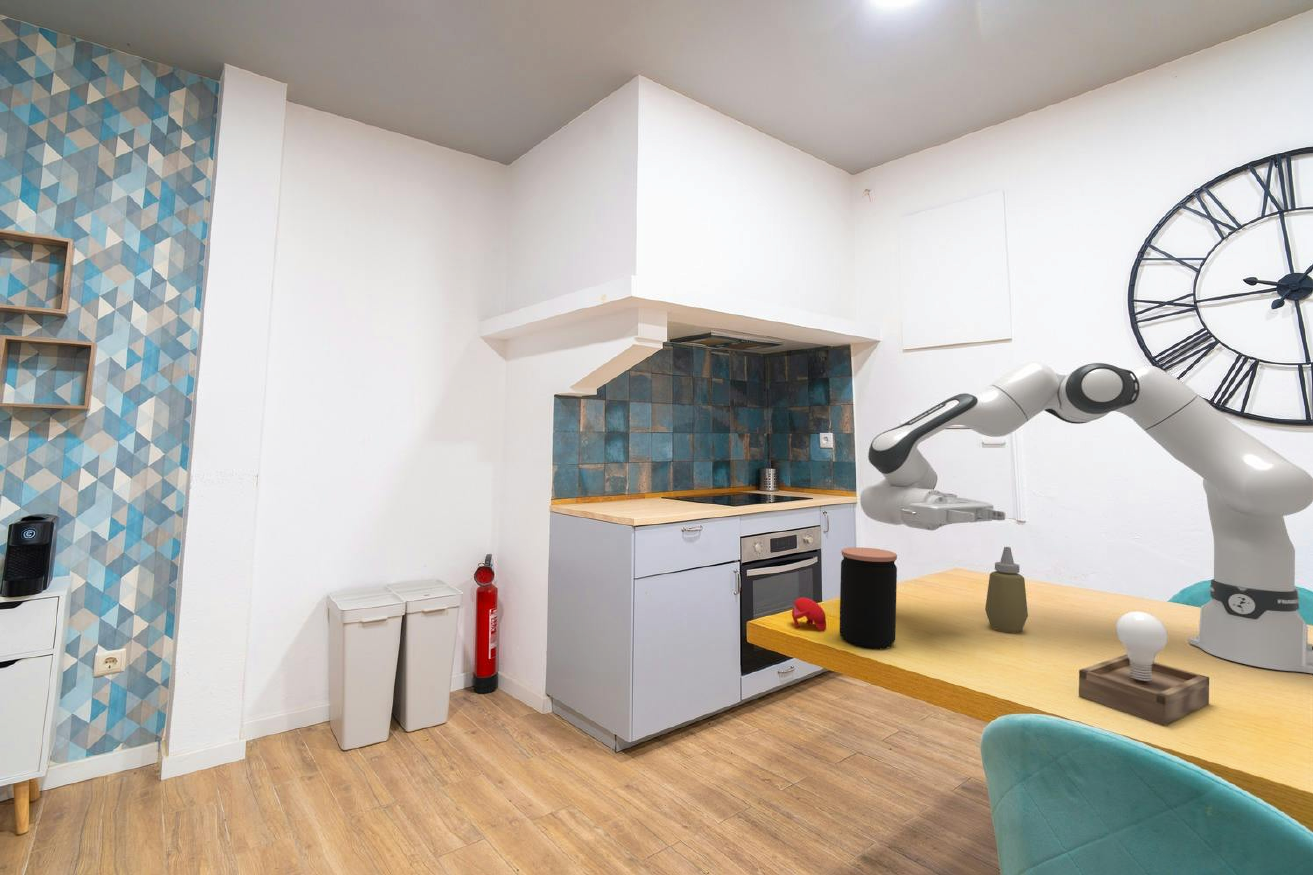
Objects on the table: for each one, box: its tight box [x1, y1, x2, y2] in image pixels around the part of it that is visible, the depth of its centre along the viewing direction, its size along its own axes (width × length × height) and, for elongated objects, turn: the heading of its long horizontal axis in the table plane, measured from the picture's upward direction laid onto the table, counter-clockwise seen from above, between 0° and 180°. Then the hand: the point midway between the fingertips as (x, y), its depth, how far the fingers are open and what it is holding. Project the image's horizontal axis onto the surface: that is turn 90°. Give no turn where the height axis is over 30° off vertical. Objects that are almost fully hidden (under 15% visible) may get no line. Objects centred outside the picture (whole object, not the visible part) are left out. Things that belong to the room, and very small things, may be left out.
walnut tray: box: [1078, 654, 1210, 727], centre depth 93 cm, size 16×11×4 cm
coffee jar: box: [838, 546, 898, 650], centre depth 118 cm, size 11×11×18 cm
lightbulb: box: [1115, 610, 1169, 683], centre depth 92 cm, size 6×6×11 cm
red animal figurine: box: [791, 597, 827, 632], centre depth 126 cm, size 8×6×6 cm
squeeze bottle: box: [984, 546, 1029, 634], centre depth 128 cm, size 8×8×18 cm
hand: (989, 517), depth 115 cm, fingers open, 8 cm apart
